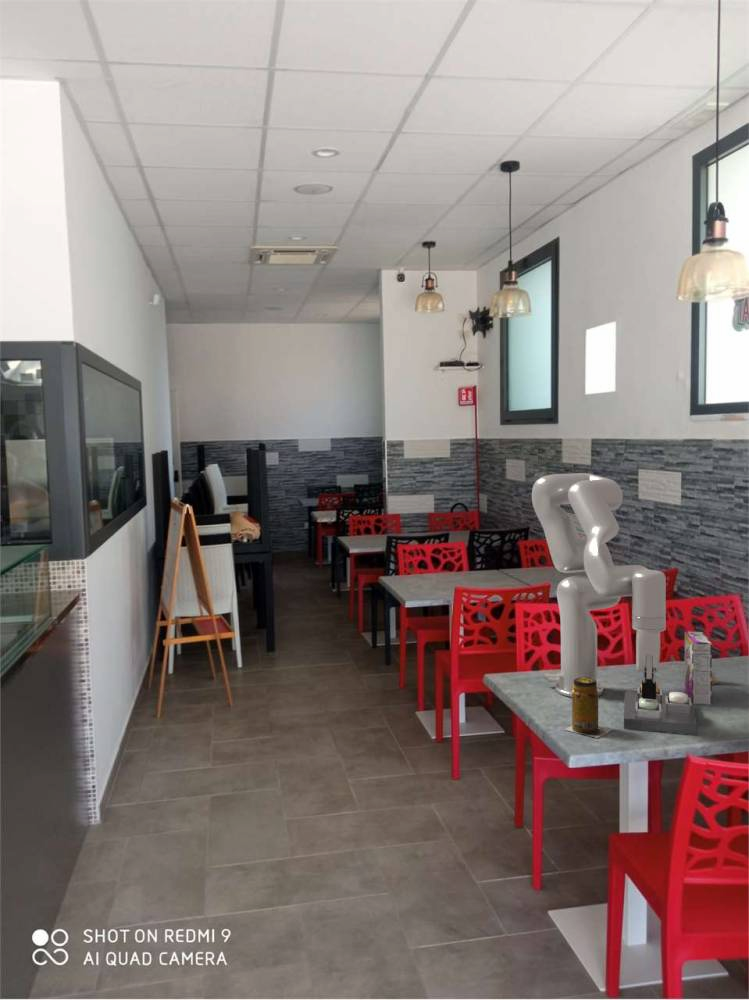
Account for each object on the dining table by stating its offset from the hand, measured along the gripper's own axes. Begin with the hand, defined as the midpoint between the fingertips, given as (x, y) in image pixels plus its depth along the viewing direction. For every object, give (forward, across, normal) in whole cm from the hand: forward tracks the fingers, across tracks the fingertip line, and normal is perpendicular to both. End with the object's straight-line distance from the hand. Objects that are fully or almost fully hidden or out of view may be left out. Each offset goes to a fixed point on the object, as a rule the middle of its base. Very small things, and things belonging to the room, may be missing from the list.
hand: (648, 697), depth 186 cm
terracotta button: (+3, -12, 0) cm, 12 cm away
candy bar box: (+7, -23, +12) cm, 27 cm away
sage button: (+3, 0, 0) cm, 3 cm away
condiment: (+7, +7, -14) cm, 17 cm away
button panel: (+7, -6, +2) cm, 9 cm away
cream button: (+3, -6, +7) cm, 10 cm away
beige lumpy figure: (+7, -37, +14) cm, 40 cm away
